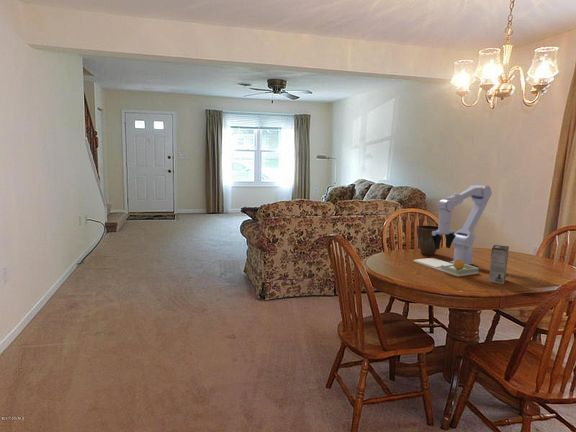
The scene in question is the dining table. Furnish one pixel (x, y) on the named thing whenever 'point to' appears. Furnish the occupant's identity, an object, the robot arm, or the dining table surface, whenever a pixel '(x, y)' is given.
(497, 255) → the coffee box
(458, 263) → the ball
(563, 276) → the dining table surface
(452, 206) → the robot arm
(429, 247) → the plant pot
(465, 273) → the board
